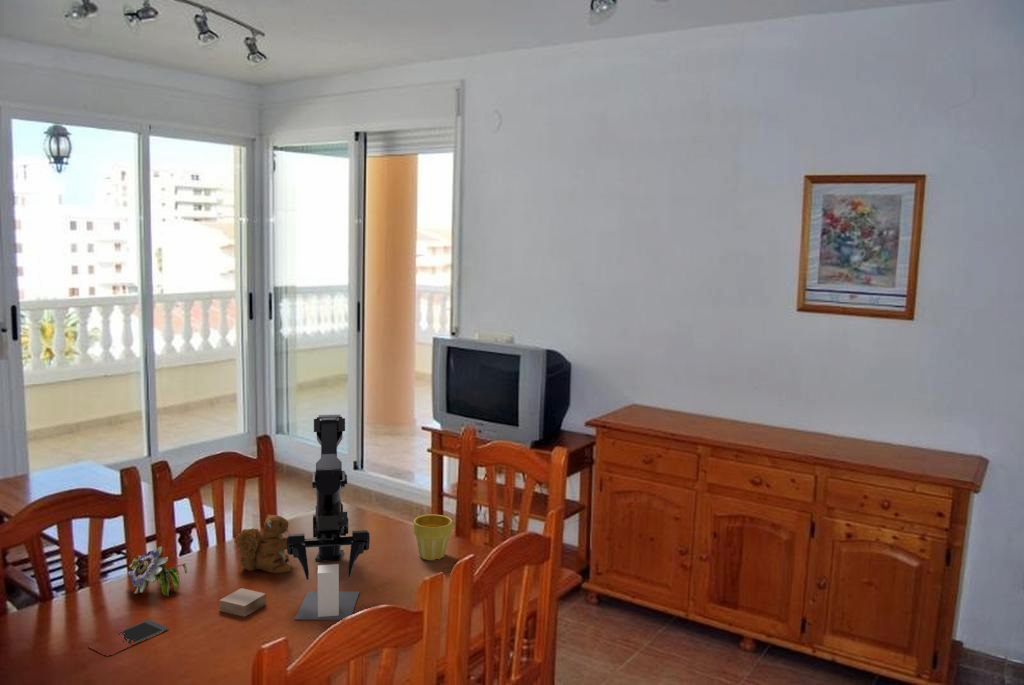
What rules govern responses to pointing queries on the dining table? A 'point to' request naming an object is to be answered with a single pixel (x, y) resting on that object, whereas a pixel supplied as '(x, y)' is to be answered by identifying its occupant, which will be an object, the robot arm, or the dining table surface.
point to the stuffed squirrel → (265, 546)
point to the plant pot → (432, 535)
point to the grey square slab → (242, 602)
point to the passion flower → (153, 572)
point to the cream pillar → (328, 590)
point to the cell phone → (143, 631)
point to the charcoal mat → (311, 606)
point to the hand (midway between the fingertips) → (328, 577)
